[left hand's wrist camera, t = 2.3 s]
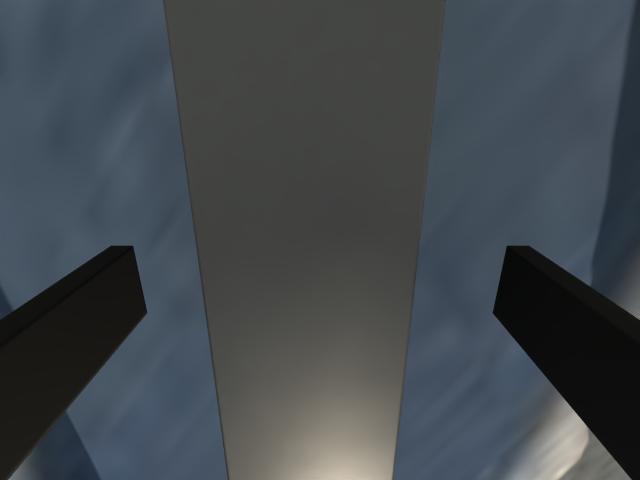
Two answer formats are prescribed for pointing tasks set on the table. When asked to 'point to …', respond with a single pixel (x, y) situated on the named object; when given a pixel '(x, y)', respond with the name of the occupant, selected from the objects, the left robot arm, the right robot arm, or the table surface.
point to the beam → (307, 219)
